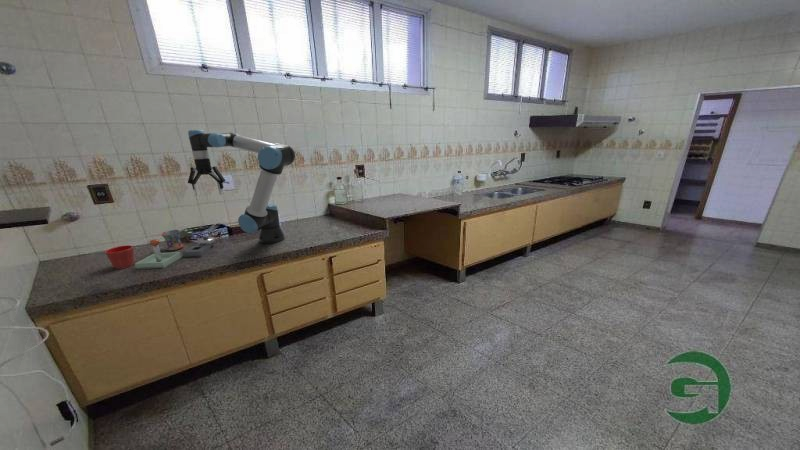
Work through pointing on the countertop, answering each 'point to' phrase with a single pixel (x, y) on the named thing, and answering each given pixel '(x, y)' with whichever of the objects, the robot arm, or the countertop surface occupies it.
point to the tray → (151, 262)
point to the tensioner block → (199, 247)
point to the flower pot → (121, 256)
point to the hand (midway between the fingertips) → (209, 194)
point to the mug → (172, 239)
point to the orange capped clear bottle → (156, 249)
